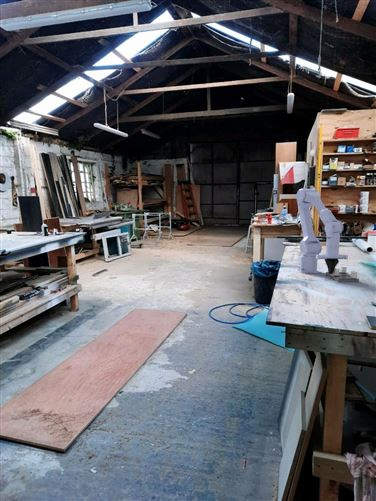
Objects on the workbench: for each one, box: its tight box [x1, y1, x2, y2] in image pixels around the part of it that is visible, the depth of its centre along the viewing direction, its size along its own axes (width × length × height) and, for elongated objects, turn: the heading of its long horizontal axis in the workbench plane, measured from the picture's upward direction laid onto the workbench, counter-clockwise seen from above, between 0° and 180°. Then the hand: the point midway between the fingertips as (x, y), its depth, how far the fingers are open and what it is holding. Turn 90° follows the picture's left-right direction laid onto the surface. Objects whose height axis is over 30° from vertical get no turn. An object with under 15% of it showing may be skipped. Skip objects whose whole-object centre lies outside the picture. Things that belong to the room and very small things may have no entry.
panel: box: [325, 271, 360, 283], centre depth 158 cm, size 10×14×1 cm
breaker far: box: [339, 265, 348, 272], centre depth 163 cm, size 2×2×3 cm
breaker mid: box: [333, 267, 340, 275], centre depth 157 cm, size 2×2×3 cm
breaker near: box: [350, 270, 358, 278], centre depth 152 cm, size 2×2×3 cm
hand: (330, 273), depth 158 cm, fingers closed
